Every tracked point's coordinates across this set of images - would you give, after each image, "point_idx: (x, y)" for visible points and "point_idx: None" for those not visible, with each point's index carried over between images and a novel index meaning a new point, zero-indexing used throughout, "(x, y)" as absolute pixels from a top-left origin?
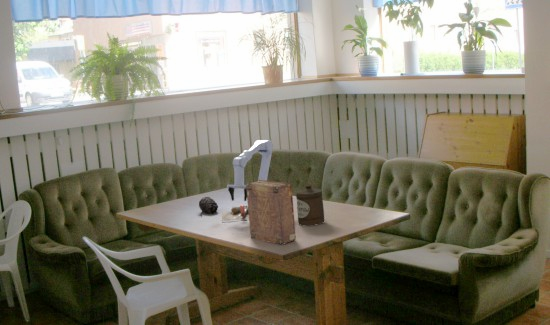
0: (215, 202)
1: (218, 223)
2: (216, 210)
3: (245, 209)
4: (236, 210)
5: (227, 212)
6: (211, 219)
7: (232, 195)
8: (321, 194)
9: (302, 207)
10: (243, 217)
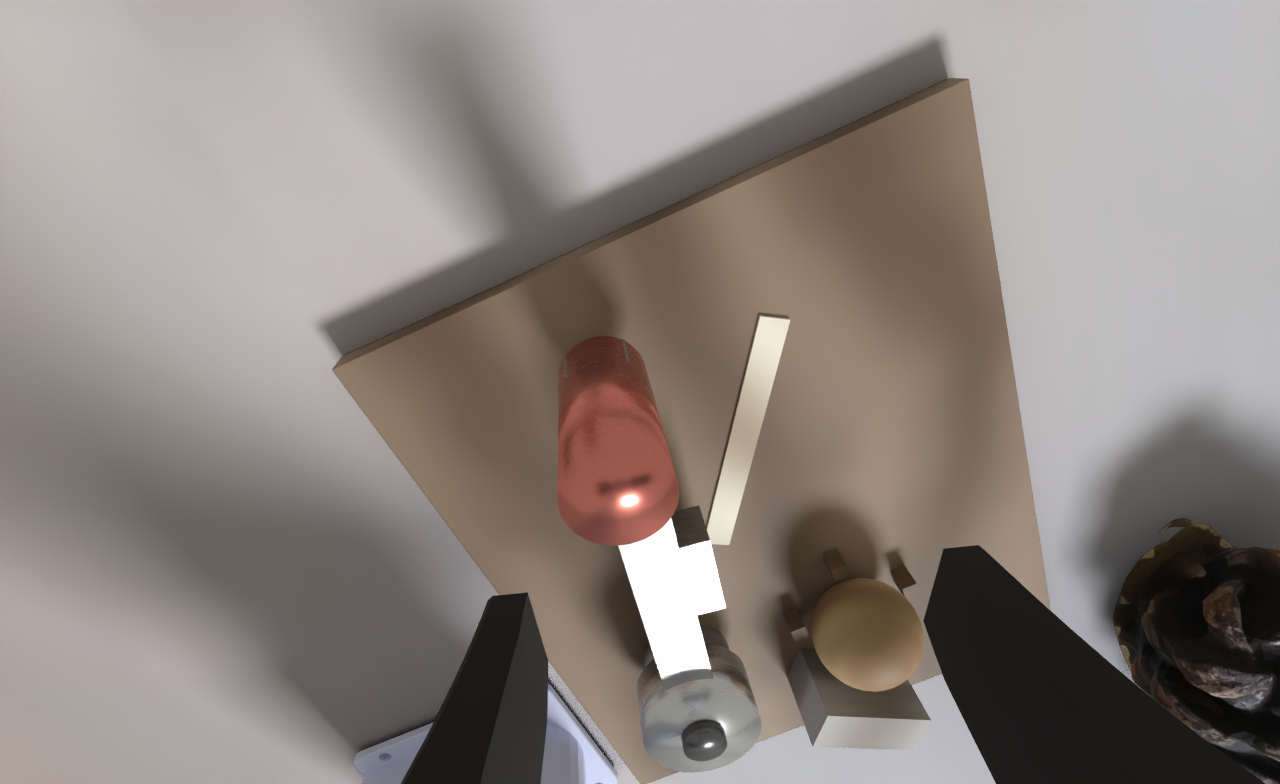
0: None
1: (1019, 21)
2: (1141, 660)
3: (664, 636)
4: (828, 619)
5: None
6: (1171, 330)
7: (1069, 723)
8: None
9: None
10: None
